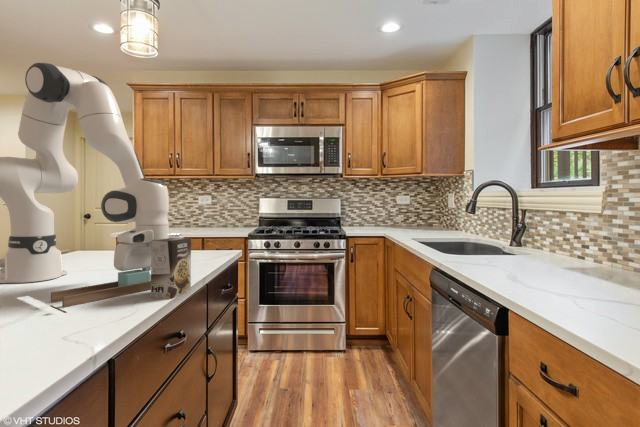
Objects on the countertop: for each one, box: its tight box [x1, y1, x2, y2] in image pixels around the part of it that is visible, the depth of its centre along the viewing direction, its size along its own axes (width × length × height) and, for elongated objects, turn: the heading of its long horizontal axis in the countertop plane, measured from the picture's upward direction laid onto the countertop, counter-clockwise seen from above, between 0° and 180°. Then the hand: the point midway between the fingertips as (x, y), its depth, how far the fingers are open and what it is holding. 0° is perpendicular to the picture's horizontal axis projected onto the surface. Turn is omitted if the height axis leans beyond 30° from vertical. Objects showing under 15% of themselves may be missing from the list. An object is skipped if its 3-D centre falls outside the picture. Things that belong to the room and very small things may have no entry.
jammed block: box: [117, 268, 150, 287], centre depth 98 cm, size 5×6×5 cm
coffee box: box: [150, 237, 192, 300], centre depth 95 cm, size 9×6×16 cm
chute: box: [50, 280, 151, 314], centre depth 93 cm, size 8×24×4 cm, turn 146°
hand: (152, 281), depth 103 cm, fingers closed
